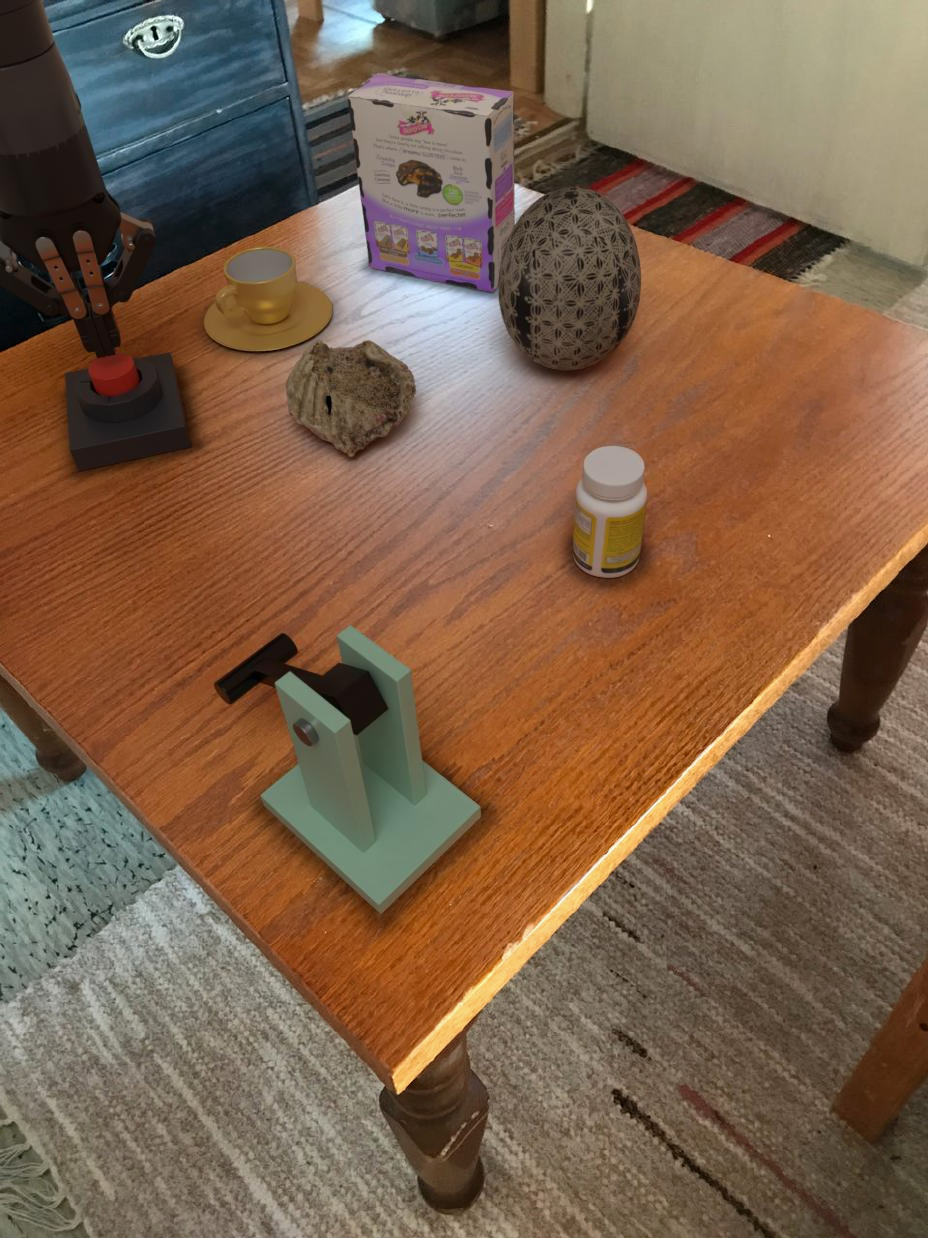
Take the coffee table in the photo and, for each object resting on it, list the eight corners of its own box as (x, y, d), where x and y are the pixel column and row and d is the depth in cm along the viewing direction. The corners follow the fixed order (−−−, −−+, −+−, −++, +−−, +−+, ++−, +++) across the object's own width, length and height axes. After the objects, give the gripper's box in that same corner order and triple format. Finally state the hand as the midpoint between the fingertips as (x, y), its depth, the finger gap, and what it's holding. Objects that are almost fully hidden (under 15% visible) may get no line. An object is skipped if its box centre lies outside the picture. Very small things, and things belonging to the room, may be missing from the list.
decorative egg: (660, 356, 86) (683, 187, 75) (572, 418, 81) (581, 245, 69) (560, 308, 92) (566, 143, 80) (471, 362, 86) (465, 194, 75)
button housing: (191, 447, 80) (179, 407, 77) (78, 471, 78) (61, 431, 75) (176, 372, 87) (164, 333, 84) (73, 394, 85) (56, 354, 82)
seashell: (334, 495, 80) (441, 436, 78) (285, 444, 74) (399, 379, 72) (311, 404, 86) (409, 347, 84) (265, 351, 81) (369, 288, 78)
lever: (226, 708, 57) (205, 675, 56) (292, 657, 59) (274, 625, 58) (335, 754, 47) (312, 715, 46) (409, 691, 49) (389, 653, 48)
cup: (280, 271, 98) (270, 218, 94) (359, 315, 92) (352, 261, 88) (179, 321, 93) (164, 267, 88) (257, 371, 87) (244, 316, 83)
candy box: (517, 266, 97) (517, 88, 84) (492, 295, 93) (489, 115, 81) (393, 240, 101) (377, 67, 89) (366, 268, 98) (344, 92, 85)
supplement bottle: (647, 543, 71) (660, 451, 64) (627, 587, 68) (639, 496, 62) (584, 526, 72) (591, 434, 66) (562, 569, 69) (567, 477, 63)
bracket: (263, 806, 58) (213, 670, 48) (363, 722, 61) (335, 581, 52) (380, 915, 53) (351, 789, 43) (481, 817, 57) (475, 681, 47)
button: (141, 391, 79) (135, 373, 78) (96, 401, 79) (89, 382, 77) (137, 367, 81) (131, 349, 80) (93, 376, 81) (86, 358, 80)
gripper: (-85, 165, 61) (21, 395, 74) (130, 130, 63) (195, 360, 76) (-78, 118, 66) (20, 342, 79) (121, 87, 68) (184, 310, 81)
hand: (106, 351), depth 78 cm, fingers closed
